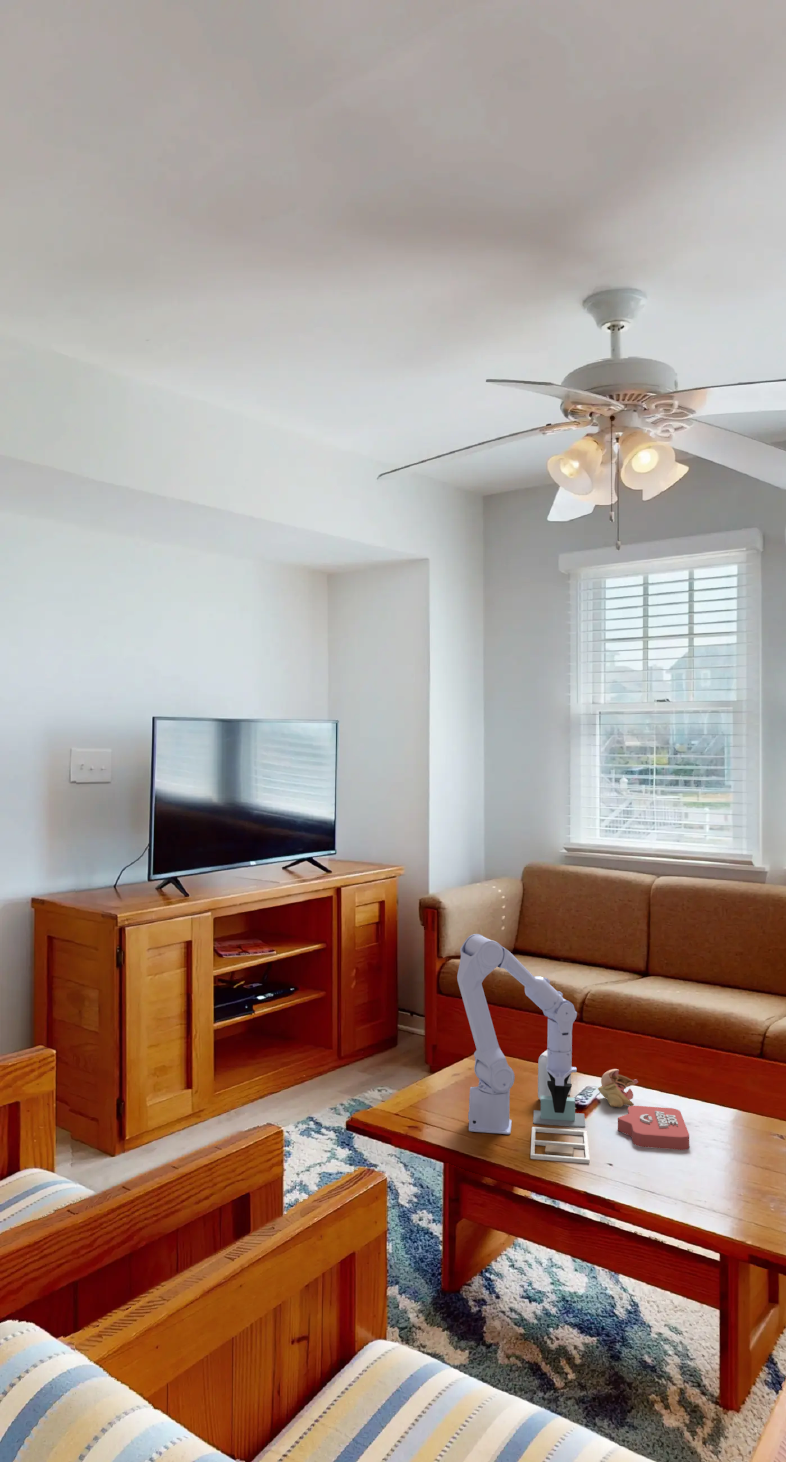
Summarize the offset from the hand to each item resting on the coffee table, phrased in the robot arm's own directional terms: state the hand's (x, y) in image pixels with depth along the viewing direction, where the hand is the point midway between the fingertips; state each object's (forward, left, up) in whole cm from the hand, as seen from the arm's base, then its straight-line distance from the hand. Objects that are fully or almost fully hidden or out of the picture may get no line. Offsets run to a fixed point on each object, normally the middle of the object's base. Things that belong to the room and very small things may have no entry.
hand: (559, 1106), depth 228 cm
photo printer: (-1, +15, -3) cm, 15 cm away
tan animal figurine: (+14, +14, -3) cm, 20 cm away
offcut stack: (0, -20, -3) cm, 20 cm away
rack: (0, -16, -3) cm, 16 cm away
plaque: (+21, -4, -4) cm, 21 cm away
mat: (0, 0, -3) cm, 3 cm away
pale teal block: (0, 0, -3) cm, 3 cm away
